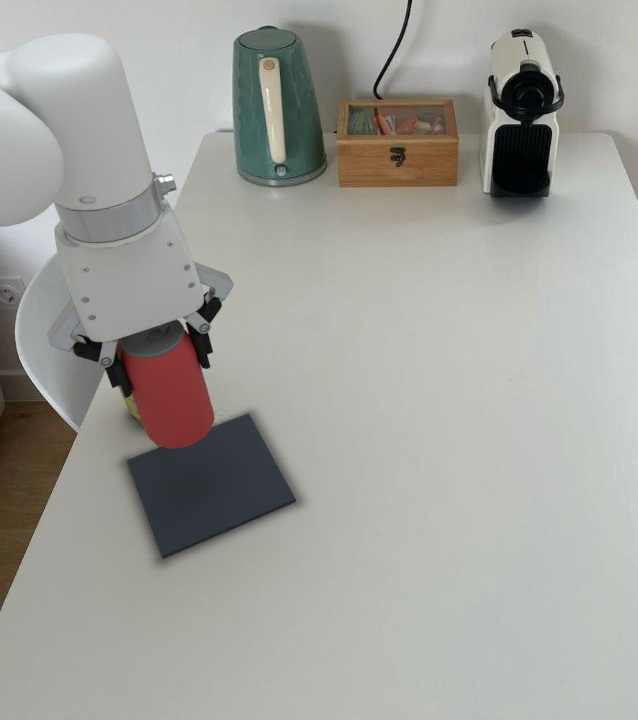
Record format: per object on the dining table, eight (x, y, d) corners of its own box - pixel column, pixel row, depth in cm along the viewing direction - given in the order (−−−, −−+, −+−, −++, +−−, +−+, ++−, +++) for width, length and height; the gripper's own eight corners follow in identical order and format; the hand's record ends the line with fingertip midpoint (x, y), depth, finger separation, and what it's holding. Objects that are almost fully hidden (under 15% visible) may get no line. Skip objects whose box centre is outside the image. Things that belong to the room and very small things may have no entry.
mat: (163, 558, 79) (162, 556, 79) (127, 462, 88) (126, 459, 88) (296, 501, 83) (295, 498, 83) (249, 415, 93) (248, 413, 92)
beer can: (229, 417, 80) (205, 324, 72) (184, 462, 76) (153, 369, 68) (179, 394, 83) (150, 302, 74) (133, 436, 79) (97, 344, 70)
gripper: (203, 155, 68) (240, 320, 80) (-16, 214, 62) (60, 382, 74) (233, 196, 63) (267, 365, 75) (-2, 264, 57) (77, 435, 69)
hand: (164, 372), depth 74 cm, fingers closed on beer can, 6 cm apart
